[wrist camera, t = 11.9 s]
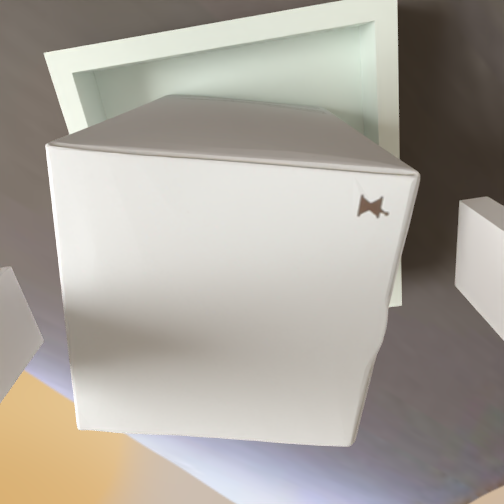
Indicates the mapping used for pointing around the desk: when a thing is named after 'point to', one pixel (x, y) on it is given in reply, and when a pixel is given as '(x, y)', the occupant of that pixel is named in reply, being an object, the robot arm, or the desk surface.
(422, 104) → the desk surface
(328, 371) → the supplement box
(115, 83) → the tote
